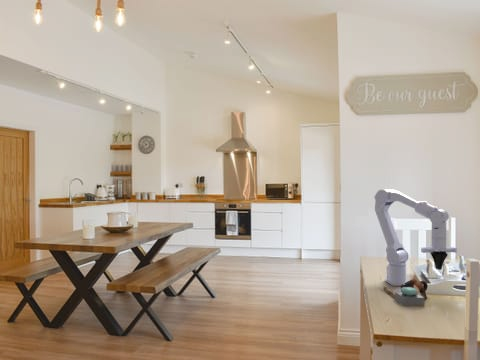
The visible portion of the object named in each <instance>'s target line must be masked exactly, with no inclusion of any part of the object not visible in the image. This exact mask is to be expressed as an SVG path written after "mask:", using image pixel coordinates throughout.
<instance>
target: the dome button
mask: <svg viewBox="0 0 480 360" xmlns="http://www.w3.org/2000/svg"><path fill="white" fill-rule="evenodd" d="M418 291H419V289H418V288H415V287H414V288H411V287H403V288H401V287H400V292H402V293H403V294H407V296H412V295H417V294H419V293H418Z"/></svg>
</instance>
